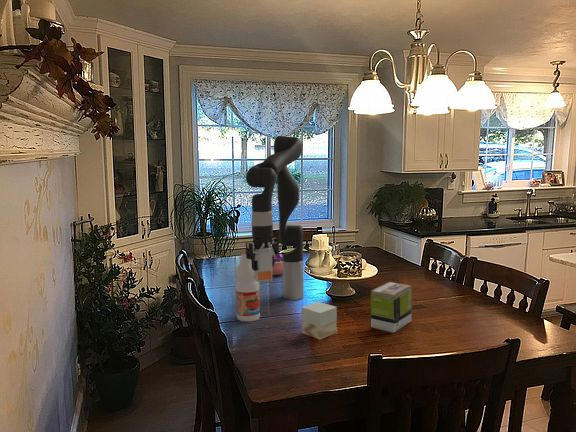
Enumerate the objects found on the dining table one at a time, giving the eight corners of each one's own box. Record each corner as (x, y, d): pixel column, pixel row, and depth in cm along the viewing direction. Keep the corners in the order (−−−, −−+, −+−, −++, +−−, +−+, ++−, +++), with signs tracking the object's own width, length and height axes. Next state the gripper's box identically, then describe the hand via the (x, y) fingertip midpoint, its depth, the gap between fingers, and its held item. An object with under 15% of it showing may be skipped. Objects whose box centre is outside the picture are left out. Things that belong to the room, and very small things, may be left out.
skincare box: (256, 282, 173) (255, 249, 171) (254, 279, 177) (253, 247, 175) (273, 280, 175) (272, 248, 173) (270, 277, 179) (269, 246, 177)
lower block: (301, 333, 178) (301, 320, 178) (318, 327, 185) (318, 314, 184) (319, 340, 172) (319, 326, 171) (336, 333, 178) (336, 320, 177)
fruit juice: (245, 312, 201) (243, 246, 197) (264, 316, 197) (263, 248, 193) (232, 319, 193) (229, 251, 189) (251, 323, 189) (249, 253, 185)
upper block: (302, 320, 178) (301, 307, 177) (318, 314, 184) (318, 301, 183) (320, 326, 171) (320, 313, 171) (336, 320, 177) (336, 307, 177)
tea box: (388, 316, 194) (389, 280, 192) (412, 321, 188) (412, 285, 186) (369, 327, 183) (370, 289, 181) (394, 333, 177) (394, 294, 175)
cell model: (251, 273, 266) (250, 253, 265) (284, 268, 274) (283, 249, 273) (262, 280, 251) (262, 259, 249) (297, 275, 259) (297, 255, 258)
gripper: (270, 220, 180) (271, 263, 183) (239, 224, 171) (241, 270, 173) (284, 222, 175) (284, 266, 177) (253, 227, 165) (254, 274, 168)
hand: (263, 268), depth 175 cm, fingers closed on skincare box, 7 cm apart
